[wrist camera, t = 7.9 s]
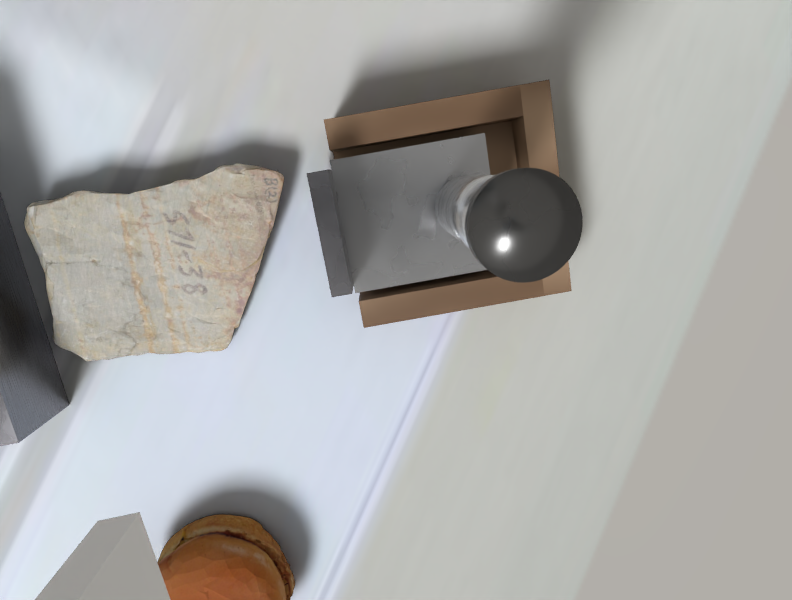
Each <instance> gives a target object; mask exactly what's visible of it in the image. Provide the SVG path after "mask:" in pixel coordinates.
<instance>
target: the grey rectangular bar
mask: <svg viewBox="0 0 792 600" xmlns="http://www.w3.org/2000/svg"><path fill="white" fill-rule="evenodd" d="M68 405H69V403H68V400H67V396H66V393H65V390H64V387H63V384H62V381H61V378H60V375H59V372H58V369H57V366H56V363H55V360H54V357H53V354H52V351H51V347H50V344H49V341H48V338H47V335H46V332H45V329H44V326H43V323H42V320H41V317H40V314H39V311H38V308H37V305H36V301H35V298H34V295H33V292H32V289H31V286H30V283H29V280H28V277H27V274H26V271H25V268H24V265H23V262H22V259H21V256H20V252H19V249H18V246H17V243H16V240H15V237H14V234H13V231H12V228H11V225H10V222H9V219H8V216H7V213H6V210H5V206H4V203H3V200H2V197H1V194H0V446H3V445H9V444H15V443H19V442H20V441H22V440H23V439H24V438H26V437H27V436H28V435H30V434H31V433H32V432H34V431H35V430H36V429H38V428H39V427H40V426H42V425H43V424H44V423H46V422H47V421H48V420H50V419H51V418H52V417H54V416H55V415H56V414H58V413H59V412H60V411H62V410H63V409H64V408H66V407H67V406H68Z"/></svg>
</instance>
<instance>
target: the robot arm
mask: <svg viewBox="0 0 792 600" xmlns="http://www.w3.org/2000/svg"><path fill="white" fill-rule="evenodd" d="M35 600H170V597H169V594H168V591H167V588H166V586H165V583H164V580H163V577H162V574H161V571H160V569H159V566H158V563H157V560H156V557H155V555H154V552H153V549H152V546H151V543H150V541H149V538H148V535H147V532H146V529H145V526H144V524H143V521H142V518H141V515H140V512H138V513H134V514H129V515H124V516H119V517H115V518H110V519H105V520H101V521H97V523H96V524H95V525H94V526H93V528H92V529H91V530H90V531H89V533H88V534H87V535H86V536H85V538H84V539H83V540H82V541H81V543H80V544H79V545H78V546H77V548H76V549H75V550H74V551H73V553H72V554H71V555H70V556H69V558H68V559H67V560H66V561H65V563H64V564H63V565H62V566H61V568H60V569H59V570H58V571H57V573H56V574H55V575H54V576H53V578H52V579H51V580H50V582H49V583H48V584H47V585H46V587H45V588H44V589H43V590H42V592H41V593H40V594H39V595H38V597H37V598H36V599H35Z"/></svg>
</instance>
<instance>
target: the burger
mask: <svg viewBox="0 0 792 600" xmlns="http://www.w3.org/2000/svg"><path fill="white" fill-rule="evenodd" d="M157 563H158V566H159V569H160V571H161V574H162V577H163V580H164V583H165V586H166V588H167V591H168V594H169V597H170V600H290V597H291V596H292V594H293V589H294V586H295V580H294V577H293V573H292V572H291V570H290V565H289V564H288V562H287V561H286V558H285V556H284V554H283V552H282V551H281V549H280V545H279V544H278V543H277V542H276V541H275V540H274V539H273V537H272V536H271V535H270V534H269V533H268V532H267V531H266V530H264V529H263V527H262V525H261V524H259V523H258V522H257V521H255V520H253V519H251V518H248V517H242V516H234V515H225V514H219V515H212V516H207V517H204V518H202V519H199V520H196V521H194V522H192V523H190V524H188V525H186V526H185V527H183V528H182V529H181V530H180V531H178V532H177V533H176V534H175V535H173V536H172V537H171V538H170V540H169V541H168V542H167V543H166V545H165V546H164V548H163V550H162V552H161V555H160V557H159V560H158V562H157Z"/></svg>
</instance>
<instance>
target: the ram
mask: <svg viewBox="0 0 792 600" xmlns="http://www.w3.org/2000/svg"><path fill="white" fill-rule="evenodd" d="M330 164H331V169H332V170H324V171H318V172H312V173H307V177H308V182H309V187H310V192H311V197H312V202H313V207H314V212H315V217H316V222H317V227H318V231H319V236H320V241H321V246H322V251H323V256H324V261H325V266H326V271H327V276H328V281H329V285H330V290H331V295H332V297H336V296H342V295H347V294H352V291H353V286H354V288H355V293H359V292H364V291H370V290H376V289H381V288H387V287H393V286H398V285H404V284H409V283H415V282H421V281H426V280H432V279H438V278H443V277H449V276H455V275H460V274H466V273H471V272H477V271H483V270H489V271H490V272H491V273H492V274H494V275H496V276H497V277H500V278H502V279H504V280H508V281H511V282H518V283H526V282H534V281H538V280H541V279H544V278H546V277H548V276H550V275H552V274H554V273H555V272H557V271H558V270H559V269H560V268H562V267H563V266H564V265H565V264H566V263H567V262H568V260H569V259H570V258H571V256H572V255H573V253H574V252H575V250H576V248H577V246H578V243H579V240H580V237H581V232H582V213H581V208H580V204H579V201H578V199H577V197H576V195H575V193H574V192H573V190H572V189H571V188H570V187H569V185H568V184H567V183H566V182H565V181H564V180H562V179H561V178H560V177H558V176H557V175H555V174H553V173H551V172H549V171H546V170H542V169H537V168H517V169H510V170H506V171H503V172H501V173H498V174H497V175H490V168H489V160H488V153H487V145H486V138H485V133H482V134H476V135H470V136H465V137H459V138H453V139H448V140H442V141H436V142H431V143H425V144H420V145H414V146H408V147H403V148H397V149H391V150H386V151H380V152H374V153H369V154H363V155H358V156H352V157H346V158H341V159H335V160H330Z"/></svg>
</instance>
